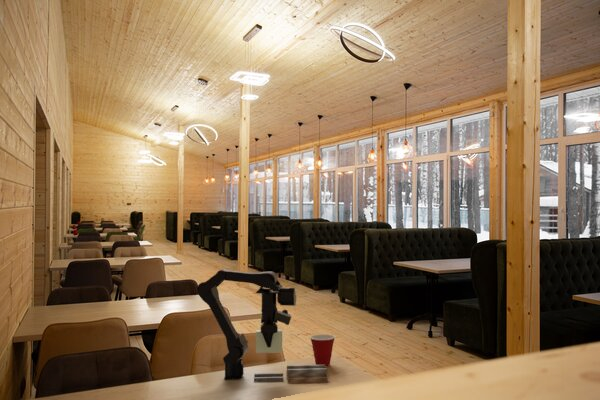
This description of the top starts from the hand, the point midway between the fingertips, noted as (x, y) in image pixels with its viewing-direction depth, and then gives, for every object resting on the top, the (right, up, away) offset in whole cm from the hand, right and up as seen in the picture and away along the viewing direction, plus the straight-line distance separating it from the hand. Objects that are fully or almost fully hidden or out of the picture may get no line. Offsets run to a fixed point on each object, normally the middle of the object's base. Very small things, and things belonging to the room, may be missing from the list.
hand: (268, 346), depth 172 cm
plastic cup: (+21, -13, +16) cm, 30 cm away
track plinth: (+14, -12, 0) cm, 19 cm away
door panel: (0, -2, 0) cm, 2 cm away
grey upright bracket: (0, -12, -1) cm, 12 cm away
